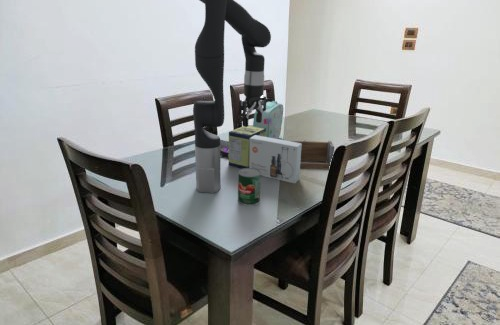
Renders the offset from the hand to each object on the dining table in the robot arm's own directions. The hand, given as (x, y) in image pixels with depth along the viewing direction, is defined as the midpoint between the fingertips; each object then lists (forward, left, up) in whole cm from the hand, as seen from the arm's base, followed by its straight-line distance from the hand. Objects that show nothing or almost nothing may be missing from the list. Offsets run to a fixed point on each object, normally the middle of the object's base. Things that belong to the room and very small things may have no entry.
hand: (252, 124), depth 140 cm
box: (+31, +15, -23) cm, 41 cm away
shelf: (+18, -22, -22) cm, 36 cm away
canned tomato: (-22, 0, -22) cm, 32 cm away
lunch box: (+49, -6, -22) cm, 54 cm away
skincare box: (+1, -9, -22) cm, 24 cm away
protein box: (+16, +2, -22) cm, 27 cm away
